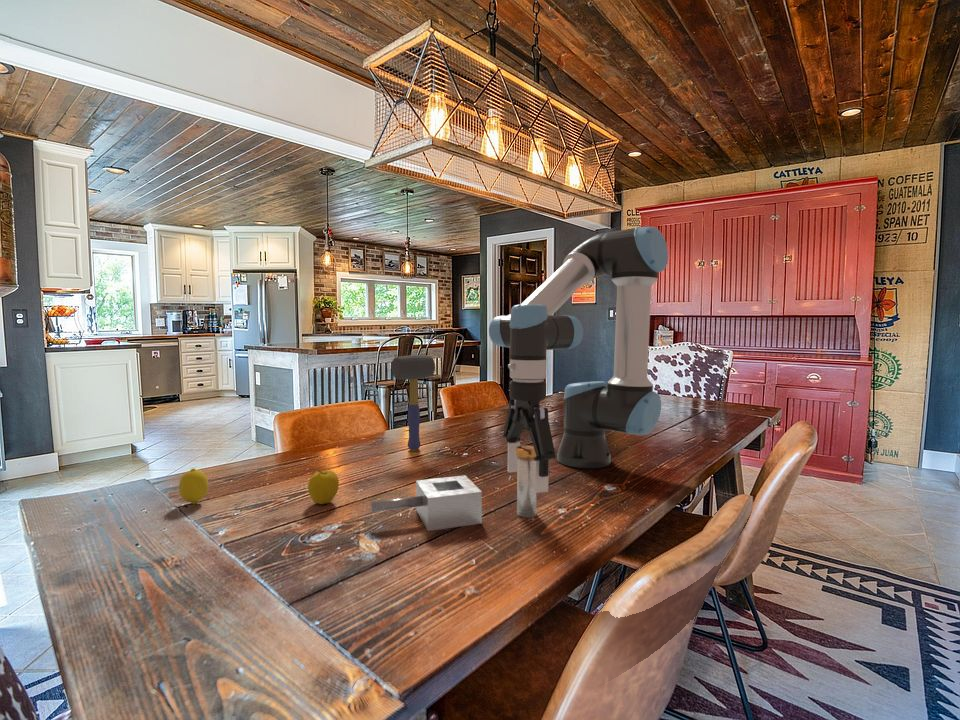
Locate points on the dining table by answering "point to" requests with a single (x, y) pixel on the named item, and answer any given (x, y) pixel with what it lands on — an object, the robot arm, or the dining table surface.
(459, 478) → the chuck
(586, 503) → the dining table surface
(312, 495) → the apple
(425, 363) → the rubber mallet
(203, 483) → the lemon
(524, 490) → the grey gold cylinder
